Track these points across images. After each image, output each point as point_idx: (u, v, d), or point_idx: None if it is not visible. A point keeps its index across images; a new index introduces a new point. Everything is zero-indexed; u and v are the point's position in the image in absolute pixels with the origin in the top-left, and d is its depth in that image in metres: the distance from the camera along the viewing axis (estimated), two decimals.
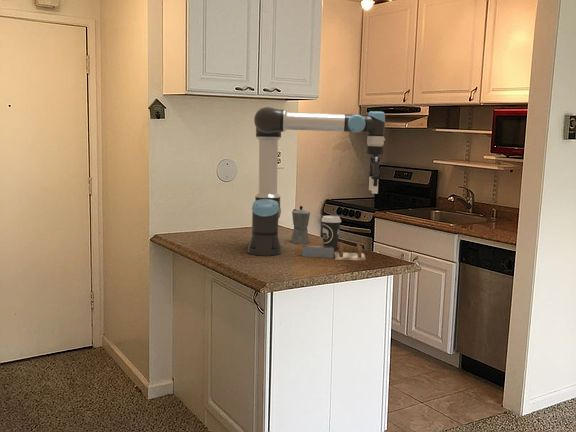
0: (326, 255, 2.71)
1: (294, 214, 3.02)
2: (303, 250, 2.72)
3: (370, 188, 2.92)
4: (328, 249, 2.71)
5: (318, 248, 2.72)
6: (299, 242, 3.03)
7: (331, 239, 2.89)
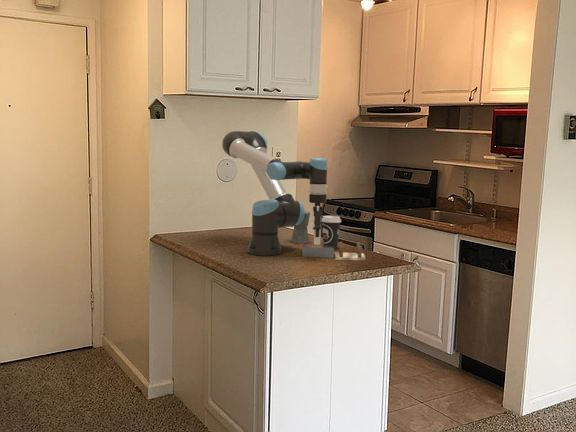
0: (326, 255, 2.71)
1: None
2: (303, 250, 2.72)
3: None
4: (328, 249, 2.71)
5: (318, 248, 2.72)
6: (299, 242, 3.03)
7: (331, 239, 2.89)
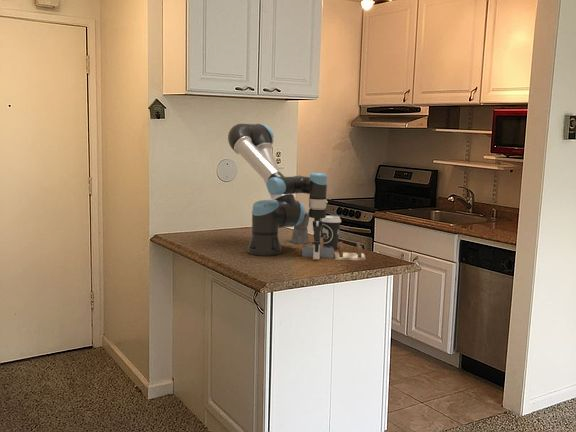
0: (326, 255, 2.71)
1: None
2: (303, 250, 2.72)
3: None
4: (328, 249, 2.71)
5: None
6: (299, 242, 3.03)
7: (331, 239, 2.89)
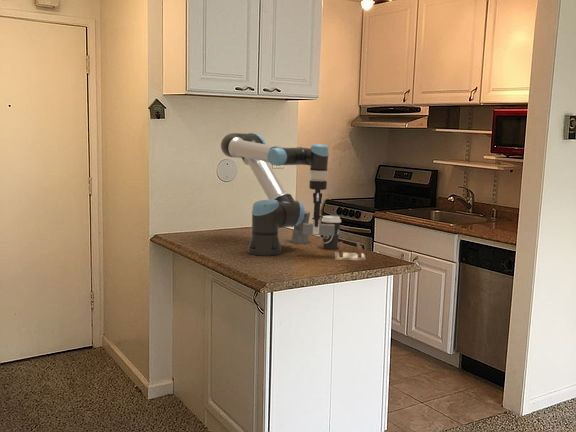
0: (327, 233, 2.70)
1: None
2: (304, 228, 2.71)
3: None
4: (329, 227, 2.70)
5: (319, 226, 2.71)
6: (299, 242, 3.03)
7: (331, 239, 2.89)
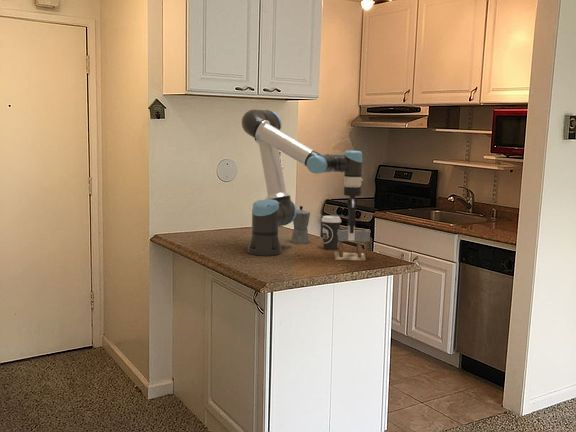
0: (362, 239, 2.70)
1: None
2: (339, 234, 2.70)
3: None
4: (364, 232, 2.69)
5: None
6: (299, 242, 3.03)
7: (331, 239, 2.89)
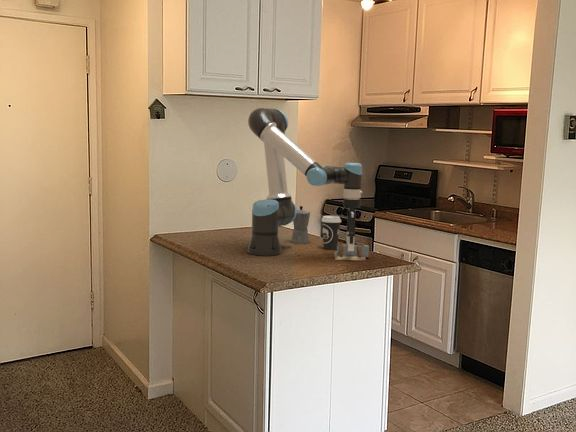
0: None
1: None
2: (338, 249, 2.71)
3: (348, 244, 2.78)
4: (363, 248, 2.70)
5: None
6: (299, 242, 3.03)
7: (331, 239, 2.89)
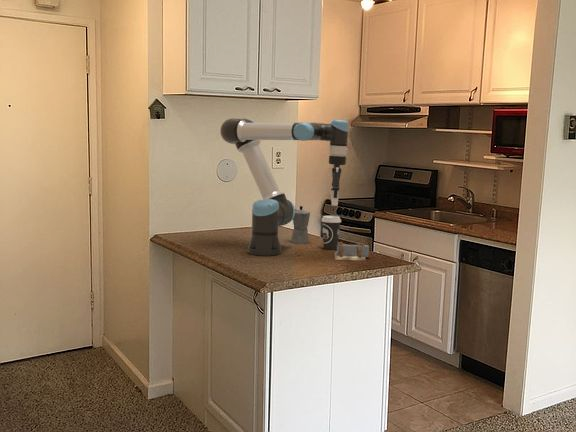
0: None
1: None
2: (338, 249, 2.71)
3: (332, 199, 2.81)
4: (363, 248, 2.70)
5: (353, 247, 2.71)
6: (299, 242, 3.03)
7: (331, 239, 2.89)
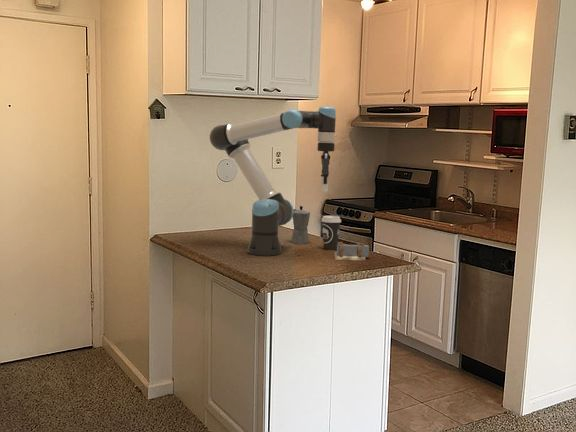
0: None
1: (294, 214, 3.02)
2: (338, 249, 2.71)
3: None
4: (363, 248, 2.70)
5: (353, 247, 2.71)
6: (299, 242, 3.03)
7: (331, 239, 2.89)
